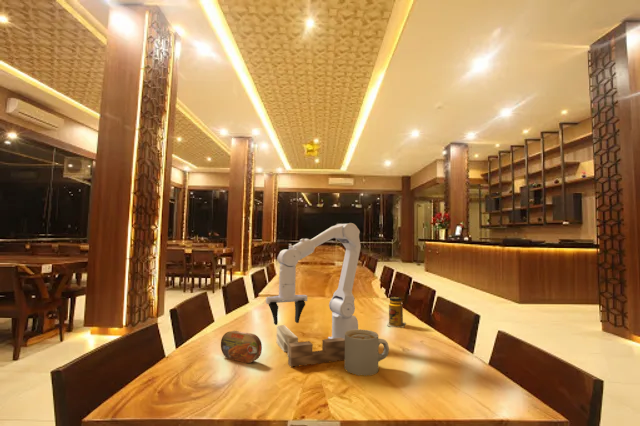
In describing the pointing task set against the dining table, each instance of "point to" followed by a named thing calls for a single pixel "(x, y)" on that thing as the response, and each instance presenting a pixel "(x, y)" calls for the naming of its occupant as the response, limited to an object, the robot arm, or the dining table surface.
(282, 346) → the ash notched plate
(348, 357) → the coffee mug
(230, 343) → the tin
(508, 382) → the dining table surface
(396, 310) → the condiment
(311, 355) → the walnut slotted plate
